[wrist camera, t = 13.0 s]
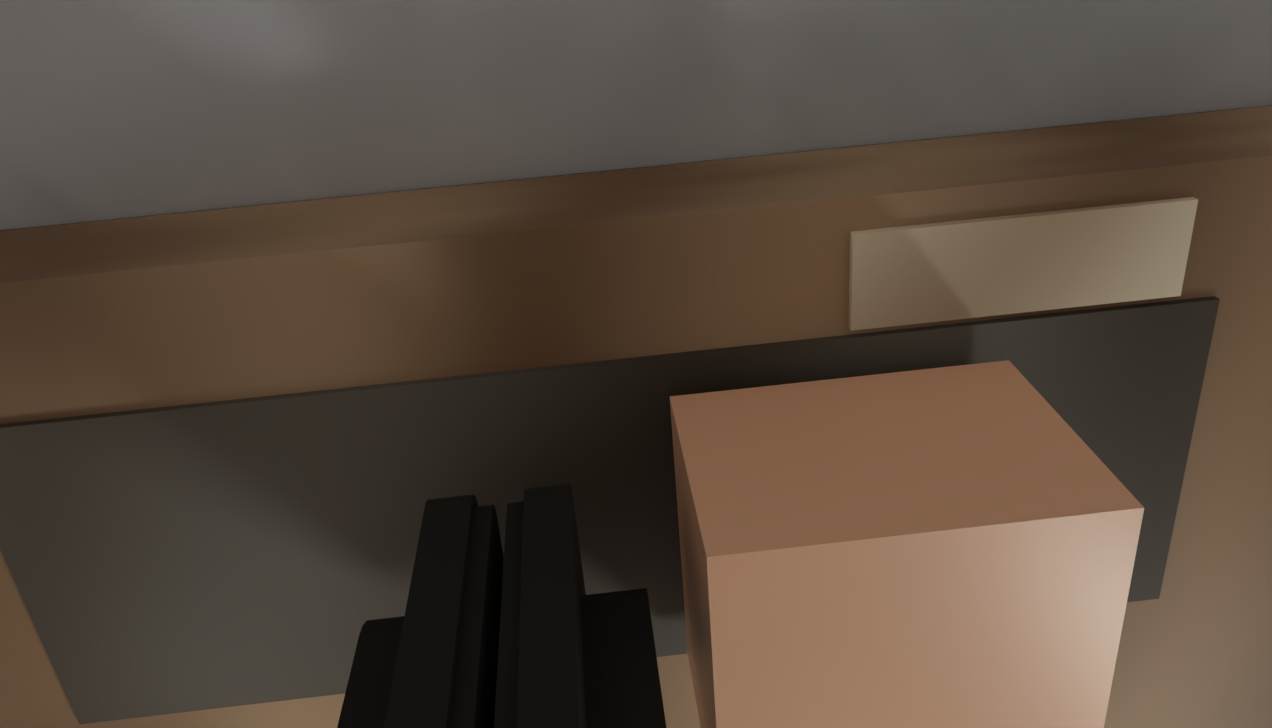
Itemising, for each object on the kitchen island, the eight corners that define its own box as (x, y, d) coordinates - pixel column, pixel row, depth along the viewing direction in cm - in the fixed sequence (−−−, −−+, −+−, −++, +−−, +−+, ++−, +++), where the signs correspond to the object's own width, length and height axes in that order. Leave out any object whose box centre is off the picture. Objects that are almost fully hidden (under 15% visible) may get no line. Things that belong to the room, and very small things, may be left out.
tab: (1008, 359, 12) (1145, 507, 9) (981, 623, 14) (1088, 810, 11) (669, 396, 12) (706, 557, 9) (687, 658, 13) (723, 855, 11)
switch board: (1333, 100, 13) (1461, 139, 11) (1147, 888, 21) (1207, 992, 19) (-386, 268, 13) (-549, 341, 11) (52, 1028, 20) (1, 1151, 18)
